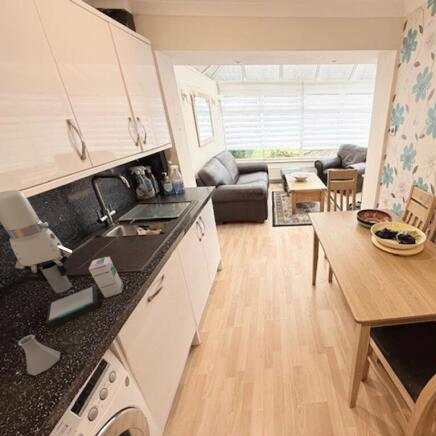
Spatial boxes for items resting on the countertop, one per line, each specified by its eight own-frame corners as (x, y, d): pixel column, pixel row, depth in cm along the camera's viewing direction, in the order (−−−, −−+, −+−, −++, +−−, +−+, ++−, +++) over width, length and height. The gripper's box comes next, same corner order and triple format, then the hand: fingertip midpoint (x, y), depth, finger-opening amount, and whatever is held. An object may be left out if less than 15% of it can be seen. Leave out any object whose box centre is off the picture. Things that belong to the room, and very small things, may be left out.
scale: (49, 328, 80) (44, 322, 79) (52, 308, 89) (48, 302, 87) (99, 306, 88) (96, 300, 87) (97, 290, 96) (94, 284, 95)
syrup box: (122, 292, 94) (107, 262, 88) (104, 298, 92) (87, 268, 86) (123, 284, 99) (109, 255, 93) (106, 289, 96) (91, 260, 90)
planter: (55, 288, 85) (40, 265, 80) (72, 282, 87) (58, 259, 83) (55, 295, 81) (39, 271, 77) (71, 288, 84) (57, 265, 80)
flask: (24, 367, 68) (4, 343, 64) (57, 347, 73) (40, 324, 69) (31, 381, 64) (9, 357, 60) (64, 358, 70) (47, 335, 65)
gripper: (64, 218, 80) (88, 262, 88) (-4, 232, 74) (28, 279, 82) (56, 227, 74) (83, 273, 82) (-19, 243, 68) (18, 292, 76)
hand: (55, 276), depth 82 cm, fingers closed on planter, 4 cm apart
